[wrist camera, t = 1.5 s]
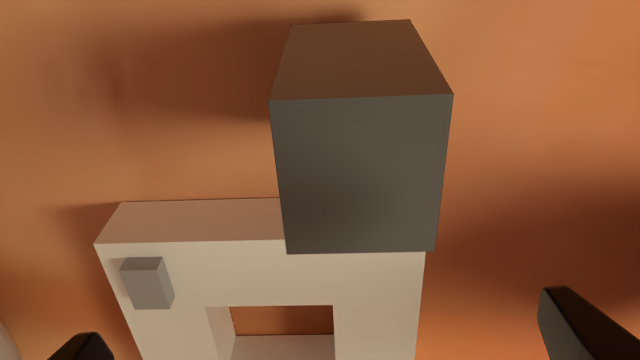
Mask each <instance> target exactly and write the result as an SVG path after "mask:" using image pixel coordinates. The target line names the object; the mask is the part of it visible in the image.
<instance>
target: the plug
mask: <svg viewBox="0 0 640 360" xmlns="http://www.w3.org/2000/svg"><path fill="white" fill-rule="evenodd" d="M453 96H454V93H453V92H452V90H451V88H450V87H449V85H448V83H447V82H446V80H445V78H444V77H443V75H442V73H441V71H440V70H439V68H438V66H437V65H436V63H435V61H434V60H433V58H432V56H431V55H430V53H429V51H428V49H427V48H426V46H425V44H424V43H423V41H422V39H421V38H420V36H419V34H418V33H417V31H416V29H415V27H414V26H413V24H412V22H411V21H410V19H406V20H384V21H362V22H340V23H318V24H296V25H291V27H290V30H289V33H288V37H287V40H286V43H285V46H284V50H283V53H282V56H281V59H280V63H279V66H278V69H277V73H276V76H275V79H274V82H273V86H272V89H271V92H270V95H269V99H268V106H269V114H270V123H271V131H272V139H273V147H274V155H275V164H276V172H277V180H278V188H279V196H280V205H281V213H282V221H283V229H284V237H285V246H286V254H287V255H296V254H344V253H392V252H435V245H436V236H437V228H438V220H439V212H440V203H441V195H442V187H443V179H444V170H445V162H446V154H447V146H448V137H449V129H450V121H451V113H452V104H453Z"/></svg>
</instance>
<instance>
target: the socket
mask: <svg viewBox="0 0 640 360" xmlns="http://www.w3.org/2000/svg"><path fill="white" fill-rule="evenodd" d="M93 245H94V248H95V250H96V252H97V254H98V257H99V259H100V261H101V264H102V266H103V268H104V271H105V273H106V275H107V278H108V280H109V282H110V284H111V287H112V289H113V291H114V294H115V296H116V298H117V301H118V303H119V305H120V308H121V310H122V312H123V314H124V317H125V319H126V321H127V324H128V326H129V328H130V331H131V333H132V335H133V338H134V340H135V342H136V345H137V347H138V349H139V351H140V354H141V356H142V358H143V360H414V359H415V349H416V340H417V330H418V321H419V312H420V302H421V293H422V284H423V274H424V265H425V256H426V252H392V253H344V254H296V255H287V254H286V246H285V237H284V229H283V221H282V213H281V205H280V198H256V199H219V200H182V201H145V202H121V203H120V205H119V206H118V208H117V209H116V211H115V212H114V214H113V215H112V216H111V218H110V219H109V221H108V222H107V224H106V225H105V227H104V228H103V230H102V231H101V233H100V234H99V236H98V237H97V239H96V240H95V242H94V243H93ZM298 305H333V319H334V335H265V336H236V335H235V330H234V326H233V322H232V318H231V314H230V309H229V307H233V306H298Z"/></svg>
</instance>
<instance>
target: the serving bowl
mask: <svg viewBox="0 0 640 360" xmlns="http://www.w3.org/2000/svg"><path fill="white" fill-rule="evenodd" d="M0 360H22V358H21V355H20V353H19V350H18V348H17V346H16V344H15V343H14V341H13V339H12V337H11V336H10V334H9V333H8V331H7V330H6V328H5V327H4V325H3V324H2V323H1V322H0Z"/></svg>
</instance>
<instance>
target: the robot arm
mask: <svg viewBox="0 0 640 360" xmlns="http://www.w3.org/2000/svg"><path fill="white" fill-rule="evenodd" d="M537 318H538V324H539V328H540V331H541V334H542V337H543V340H544V343H545V346H546V349H547V352H548V355H549V358H550V360H640V340H639V339H638V338H636V337H635V336H634V335H632V334H631V333H630V332H628V331H627V330H626V329H624V328H623V327H622V326H620V325H619V324H618V323H616V322H615V321H614V320H612V319H611V318H610V317H608V316H607V315H606V314H604V313H603V312H602V311H600V310H599V309H598V308H596V307H595V306H594V305H592V304H591V303H590V302H588V301H587V300H586V299H584V298H583V297H582V296H580V295H579V294H578V293H576V292H575V291H574V290H572V289H571V288H570V287H568V286H565V285H555V286H546V287H544V288H543V289H542V290H541V294H540V301H539V308H538V315H537ZM47 360H115V359H114V355H113V353H112V352H111V350H110V349H109V347H108V346H107V344H106V343H105V341H104V340H103V338H102V337H101V335H100V334H99V333H97V332H86V333H79V334H76V335H75V336H73V337H72V338H71V339H70V340H69V341H68V342H66V343H65V344H64V345H63V346H62V347H61V348H60V349H59V350H58V351H56V352H55V353H54V354H53V355H52V356H51V357H50V358H49V359H47Z"/></svg>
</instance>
